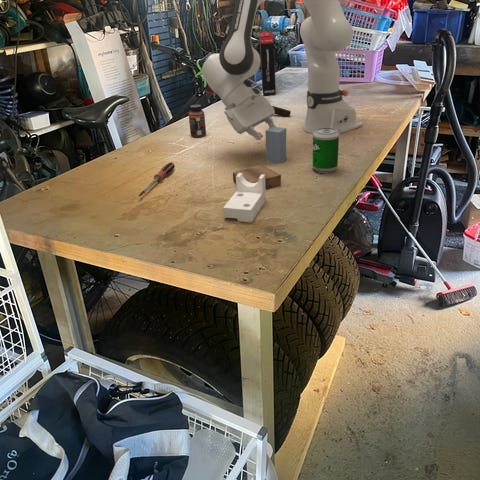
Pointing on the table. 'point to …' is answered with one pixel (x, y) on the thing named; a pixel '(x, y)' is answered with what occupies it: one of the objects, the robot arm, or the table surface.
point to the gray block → (276, 145)
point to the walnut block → (255, 172)
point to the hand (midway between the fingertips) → (267, 134)
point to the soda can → (325, 150)
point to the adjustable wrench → (281, 111)
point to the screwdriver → (160, 175)
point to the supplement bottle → (197, 121)
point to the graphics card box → (267, 63)
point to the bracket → (246, 199)
